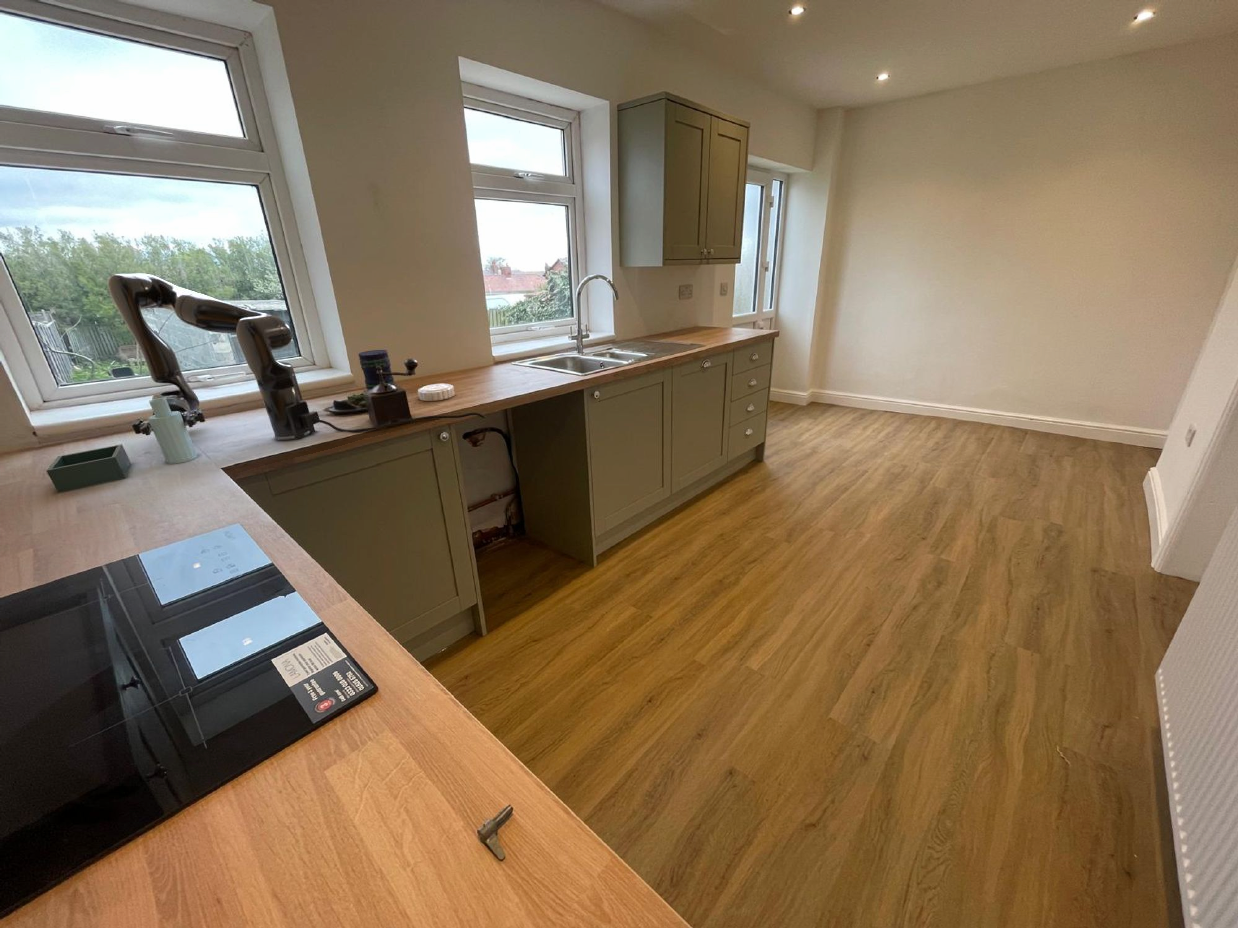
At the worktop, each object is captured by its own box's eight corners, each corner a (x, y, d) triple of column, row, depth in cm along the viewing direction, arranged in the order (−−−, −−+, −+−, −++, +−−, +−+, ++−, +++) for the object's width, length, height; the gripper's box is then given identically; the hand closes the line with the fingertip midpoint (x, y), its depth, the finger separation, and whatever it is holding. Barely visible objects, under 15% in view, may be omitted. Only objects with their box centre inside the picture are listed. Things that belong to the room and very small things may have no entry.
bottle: (203, 455, 133) (179, 396, 126) (179, 464, 127) (153, 403, 121) (185, 453, 134) (161, 396, 128) (161, 463, 129) (134, 403, 122)
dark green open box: (131, 464, 129) (122, 444, 127) (125, 478, 120) (115, 456, 118) (69, 476, 123) (58, 456, 121) (58, 492, 114) (46, 470, 112)
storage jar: (361, 395, 183) (351, 354, 178) (382, 388, 192) (373, 349, 186) (382, 397, 180) (372, 355, 174) (402, 390, 188) (393, 350, 182)
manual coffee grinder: (377, 428, 147) (362, 367, 140) (368, 419, 155) (354, 362, 148) (430, 416, 156) (418, 358, 148) (419, 409, 164) (407, 353, 157)
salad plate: (338, 402, 176) (334, 389, 175) (391, 396, 180) (388, 384, 178) (320, 418, 159) (316, 404, 157) (380, 412, 162) (377, 398, 160)
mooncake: (413, 398, 177) (411, 388, 176) (444, 390, 185) (442, 380, 184) (429, 403, 169) (427, 393, 168) (461, 395, 177) (459, 385, 176)
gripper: (132, 405, 133) (124, 419, 121) (199, 395, 141) (197, 407, 129) (144, 432, 136) (137, 448, 124) (209, 420, 144) (208, 434, 132)
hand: (168, 427), depth 126 cm, fingers open, 8 cm apart
